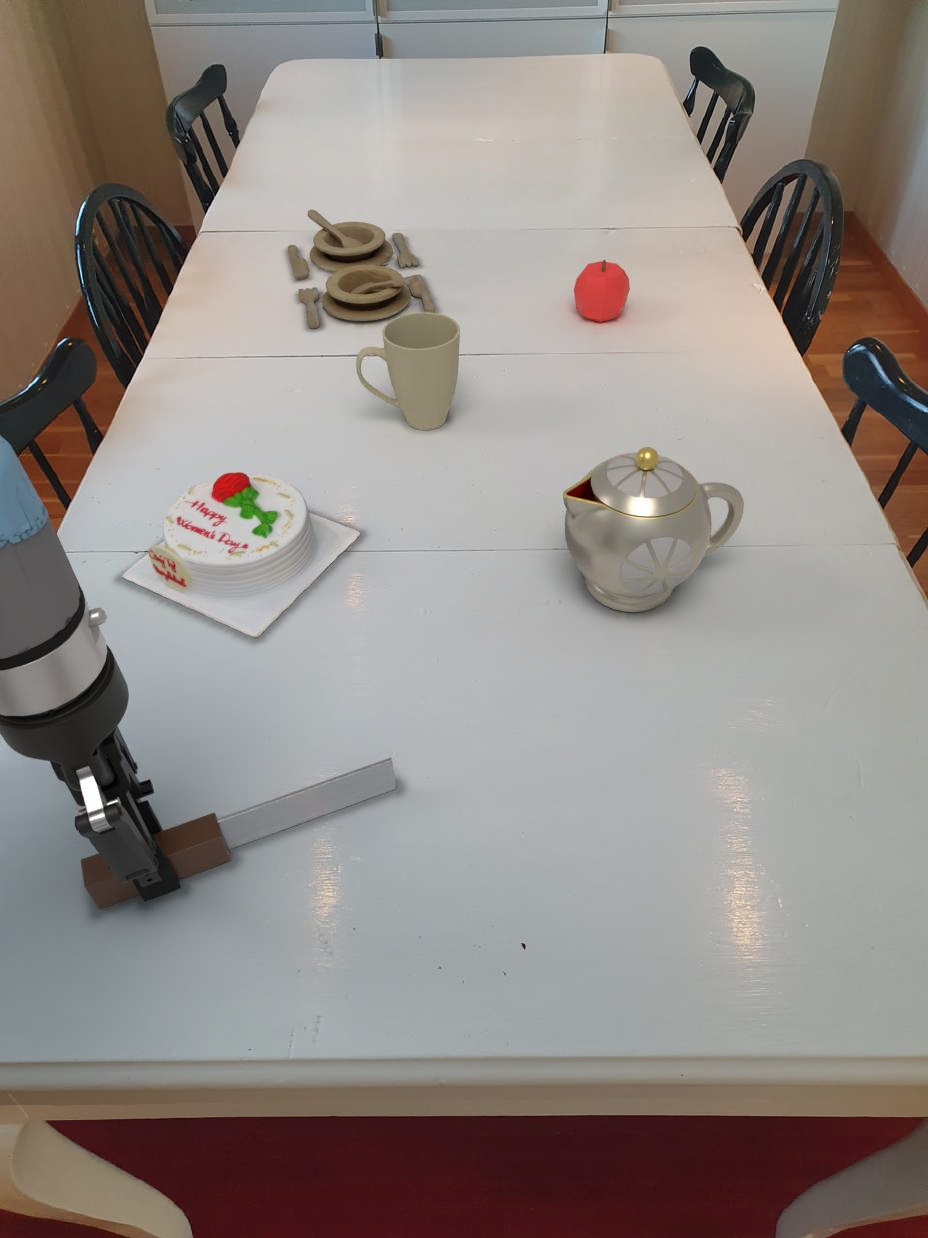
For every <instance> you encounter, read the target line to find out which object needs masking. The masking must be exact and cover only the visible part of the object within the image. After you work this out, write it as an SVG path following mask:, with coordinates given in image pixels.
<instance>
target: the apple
mask: <svg viewBox="0 0 928 1238" xmlns="http://www.w3.org/2000/svg"><path fill="white" fill-rule="evenodd" d="M630 290H631V286H630V278H629V276H628V275H627V273H626V271H625V269H623V268H622V267H621V266H620V265H619V264H618V263H615V262H610V261H606V259H603V260H601V261H595V262H590V263H587V264H586V266H585V267H584V268H583V270H582V271H581V272H580V273H579V275H578V276H577V278H576V280H575V283H574V286H573V295H574V302H575V303H574V304H575V309H576V310H577V311H578V312H579V313H580V314H581V315H582V316H583V317H584V318H586V319H588V320H590V321H594V322H598V323H604V322H607V321H610V320H613V319H615V318H618V317H619V316H620V315H621V313H622V312H623V310H624V309H625V305H626V302H627V299H628V297H629V293H630Z"/></svg>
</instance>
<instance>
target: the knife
mask: <svg viewBox="0 0 928 1238" xmlns="http://www.w3.org/2000/svg"><path fill="white" fill-rule="evenodd" d="M396 789H397V785H396V777H395V770H394V763H393V758H392V757H388V758H385V759H381V760H380V761H377V762H374V763H371V764H369V765H365V766H363V767H359V768H358V769H354V770H351V771H349V772H346V773H343V774H341V775H338V776H335V777H332V778H328V779H326V780H323V781H320V782H317V783H315V784H311V785H309V786H306V787H303V788H301V789H298V790H294V791H292V792H289V793H287V794H284V795H280V796H278V797H275V798H272V799H269V800H267V801H264V802H262V803H259V804H256V805H253V806H250V807H247V808H245V809H241V810H239V811H236V812H233V813H230V814H228V815H224V816H222V817H219V818H218V817H217V814H216V812H211V813H209V814H206V815H204V816H200V817H198V818H195V819H192V820H189V821H185V822H183V823H181V824H177V825H175V826H172V827H169V828H166V829H163V831H160V832H158V833H155V834H152V835H150V836H153V835H155V836H156V838H157V840H158V841H159V843H160V845H161V847H162V849H163V851H164V853H165V855H166V856H167V858H168V860H169V862H170V864H171V866H172V868H173V869H174V871H175V873H176V875H177V877H178V879H179V881H180V880H182V879H185V878H188V877H191V876H194V875H196V874H199V873H201V872H204V871H207V870H210V869H212V868H215V867H218V866H221V865H223V864H226V863H229V862H231V861H232V859H231V855H230V850H232V849H236V848H238V847H240V846H243V845H246V844H249V843H251V842H254V841H257V840H259V839H262V838H265V837H267V836H270V835H273V834H275V833H279V832H281V831H284V830H287V829H290V828H292V827H295V826H298V825H301V824H303V823H306V822H309V821H311V820H314V819H317V818H319V817H323V816H325V815H329V814H331V813H334V812H336V811H339V810H342V809H344V808H347V807H350V806H352V805H356V804H359V803H361V802H365V801H366V800H369V799H371V798H374V797H378V796H381V795H383V794H386V793H388V792H391V791H393V790H394V791H395V790H396ZM80 865H81V866H80V867H81V873H82V881H83V886H84V888H85V889H86V891H87V893H88V894H89V896H90V898H91V899H92V900H93V902H94V904H95V905H96V907H97V909H98V910H101V909H103V908H106V907H109V906H113V905H115V904H117V903H120V902H123V901H126V900H128V899H132V898H134V897H136V896H139V895H141V894H140V893H139V891H138V889H137V888H136V886H135V885H134V883H133V881H132V880H131V881H128V882H125V883H121V882H120V881H119V880H118V879H117V877H116V876H115V874H114V873H113V872H112V870H110V871H109V870H108V865H107V863H106V862H105V861H104V859H103V858H102V857H101V855H100V854H99V853H98V852H97V853H95V854H92V855H90V856H87V857H84V858H81V859H80Z"/></svg>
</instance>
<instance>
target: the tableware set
mask: <svg viewBox="0 0 928 1238" xmlns="http://www.w3.org/2000/svg"><path fill="white" fill-rule="evenodd" d="M307 217H308V219H310V220H311V221H313V222H314V223H315V224H316V225H318V226H319V227H320V228H321V229H320V230H318V231H317V232H316V233H315V234H314V236H313V237H312V238H313V239H312V242H313V246H312V247H311V249H310V251H309V259H310V261H311V262H312V264H314V266H316V267H317V268H319V269H322V270H325V271H328V272H333V273H332V274H331V275H330V276H329V277H328V278H327V279H326V281H325V290H326V291H325V292H324V293H323V294H322V297H321V305H322V307H323V309H324V310H325V311H326V312H327V313H328V314H329V315H330V316H332V317H335V318H337V319H341V320H345V321H354V322H369V321H377V320H382V319H386V318H389V317H392V316H394V315H396V314H398V313H400V312H401V311H402V310H404V309H405V308H406V307H407V306H408V304H409V303H410V300H411V295H412V296H413V297H415V298H421V300H422V305H423V309H424V312H431V313H436V305H435V304H434V301H433V299H432V297H431V294H430V292H429V290H428V288H427V286H426V283H425V281H424V279H423V276H422V275H421V274H420V273H419V274H413V275H410V276H405V277H403V275H402V274H401V273H400V272H399V271H397V270H396V269H394V268H391V267H388V266H384V264H386V263H387V262H389V260H390V259H392V256H393V254H394V248H393V245H392V244H391V243H390V242H389V241H388V240H387V239H386V238H387V237H386V232H385V231H384V230H383V229H382V228H381V227H380V226H378V225H376V224H373V223H370V222H364V221H362V222H361V221H343V222H338V223H333V224H332V223H331V222H329V220H327V218H325V217H324V216H323V215H322V214H321V213H320V212H318V211H317V210H316V209H309V210H308V211H307ZM391 239H392V241H393V243H394V245H395V246H396V248H397V250H398V252H399V255H397V263H398V266H399V268H400V269H403V268H406V267H408V268H411V267H412V266H413V267H418V266H419V262H418V259H417V257H416V255H415V254H414V253H411V252H410V251H408V248H407V244H406V241H405V237H404V234H403V233H402V232H394V233H392V234H391ZM287 252H288V256H289V260H290V264H291V267H292V271H293V275H294V279H295V280H296V281H301V280H304V279H307V278H308V277H309V275H310V268H309V264H308V261H307V259H306V258H303V257H299V253H298V252H299V251H298V247H297V245H296V244H288V245H287ZM407 286H408V287H409V288H408V287H407ZM297 292H298V297H299V301H300V302H302V303H303V304H305V305H306V318H307V326H308V328H309V329H312V330H313V329H318V328H320V327H321V322H320V318H319V314H318V310H317V307H316V304H315V303H316V302H317V301H318V300H319V298H320V295H319V289H318V287H315V286H314V287H311V288H310V287H306V288H305V289H304V288H298V291H297Z"/></svg>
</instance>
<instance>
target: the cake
mask: <svg viewBox="0 0 928 1238" xmlns="http://www.w3.org/2000/svg"><path fill="white" fill-rule="evenodd" d="M162 535H163V540H162V541H161V542H160V543H159V544H158V545H155V544H154V545H152V546H151V547H150V548H149V551H148V553H147V554H145V555H144V556H143V557H141V558H140V559H139V560H138V561H136V562H135V563H134V564H133V565H132V566H130V568H128V569H127V570H126V571H124V572H123V574H122V575H121V578H123V579H125V580H127V581H129V582H132V583H134V584H136V585H138V586H139V587H143V588H145V589H147V590H149V591H151V592H152V593H156V594H157V595H160V596H162V597H164V598H165V599H169V600H170V601H172V602H174V603H177V604H180V605H182V606H183V607H184V608H187V609H190V610H193V611H194V612H197V613H200V614H202V615H203V616H206V617H208V618H209V619H212V620H214V621H216V622H219V623H221V624H222V625H226V626H228V627H230V628H232V629H234V630H236V631H238V632H241V633H243V634H244V635H247V636H249V637H251V638H253V639H257V638H259V637H260V636H261V635H262V634H263V632H264V631H266V630H267V629H268V627H269V626H270V625H272V623H273V622H274V621H275V620H277V619H278V617H280V616H281V615H282V613H283V612H285V611H286V610H287V609H288V608H289V607H290V606H291V605H292V604H293V603H294V601H296V600H297V598H298V597H300V595H301V594H302V593H303V592H304V591H305V590H307V589H308V588H309V587H310V586H311V585H312V584H313V582H315V581H316V580H317V578H318V577H319V576H320V575H322V573H323V572H324V571H325V570H326V569H327V568H328V567H329V566H330V565H331V564H332V563H333V562H335V560H336V559H337V558H338V556H340V555H342V553H344V551H346V550H347V549H348V548H349V546H350V545H352V544H353V543H354V542H355V541H356V540H357V538H358V537H360V535H361V532H360V531H359V530H357V529H354V528H351V527H348V526H346V525H343V524H341V523H338V522H335V521H332V520H329V519H328V518H325V517H323V516H319V515H318V514H317V515H316V514H315V513H312V512H310V511H309V507H308V504H307V501H306V499H305V497H304V494H303V493H302V492H301V491H300V489H298V488H297V487H296V486H294V485H293V484H291V483H289V482H288V481H286V480H283V479H281V478H279V477H275V476H272V475H269V474H264V473H244V472H240V471H237V472H226V473H224V474H222V475H220V476H219V477H217V478H214V479H211V480H208V481H205V482H203V483H200V484H196V485H193V486H192V487H191V488H188V490H187V491H186V492H185V493H183V494H182V495H181V496H179V498H177V499H176V500H175V502H173V504H172V505H171V506H170V507H169V509H168V510H167V513H166V514H165V516H164V519H163V522H162Z"/></svg>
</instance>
